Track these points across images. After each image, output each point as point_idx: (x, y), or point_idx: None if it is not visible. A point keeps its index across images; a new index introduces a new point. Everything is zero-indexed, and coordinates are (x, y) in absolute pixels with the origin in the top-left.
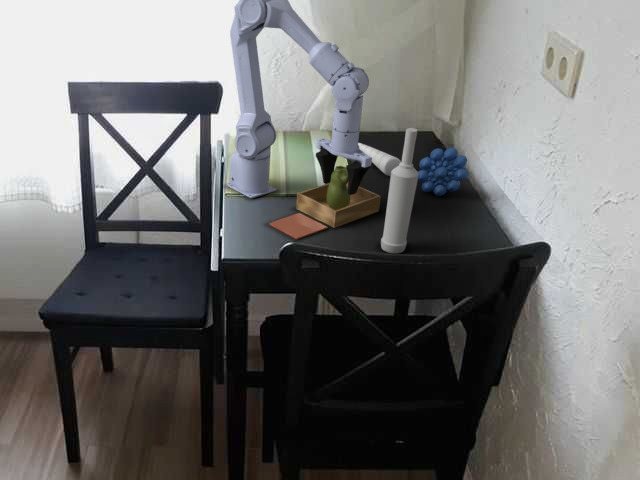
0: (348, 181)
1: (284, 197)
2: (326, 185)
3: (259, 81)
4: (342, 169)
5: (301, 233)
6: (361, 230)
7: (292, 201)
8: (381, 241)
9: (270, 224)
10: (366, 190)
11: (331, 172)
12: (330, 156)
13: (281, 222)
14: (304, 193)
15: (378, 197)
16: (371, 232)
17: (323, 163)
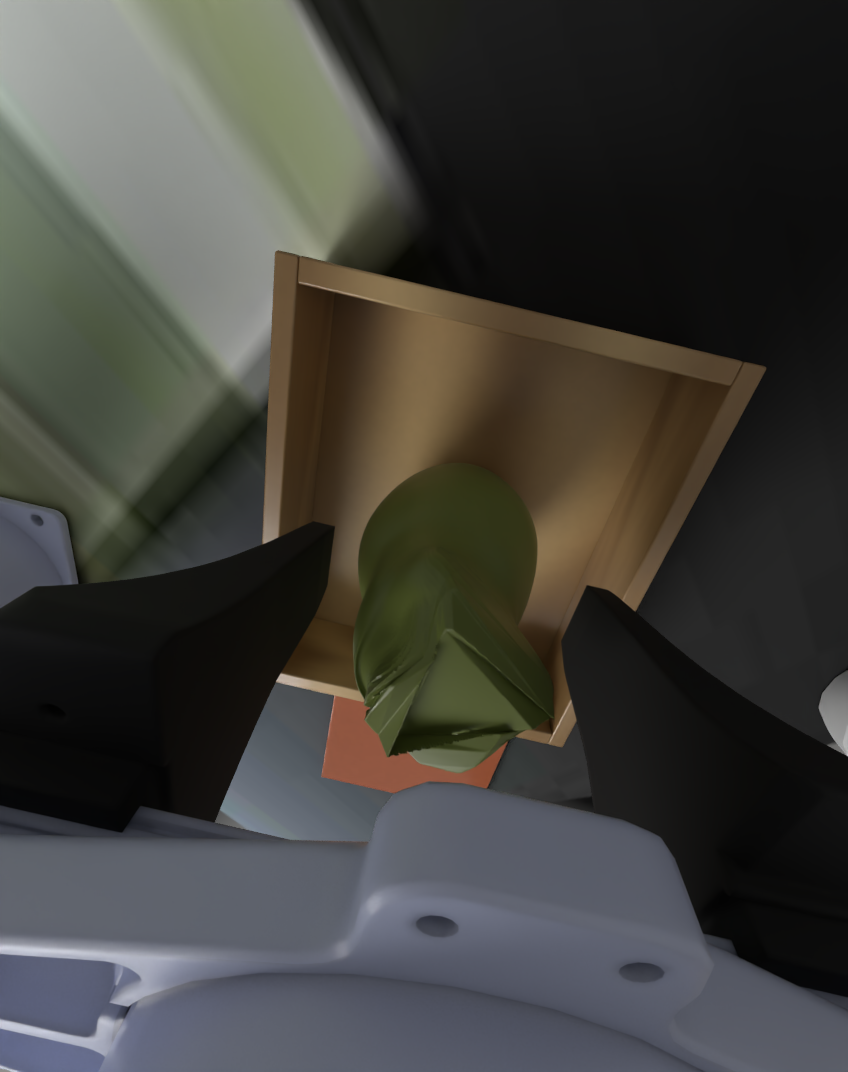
0: (587, 753)
1: (155, 546)
2: (286, 471)
3: None
4: (449, 704)
5: (468, 783)
6: (676, 631)
7: (217, 560)
8: (841, 746)
9: (331, 776)
10: (601, 345)
11: (300, 581)
12: (202, 752)
13: (351, 754)
14: None
15: (747, 399)
16: (733, 622)
17: (237, 766)
